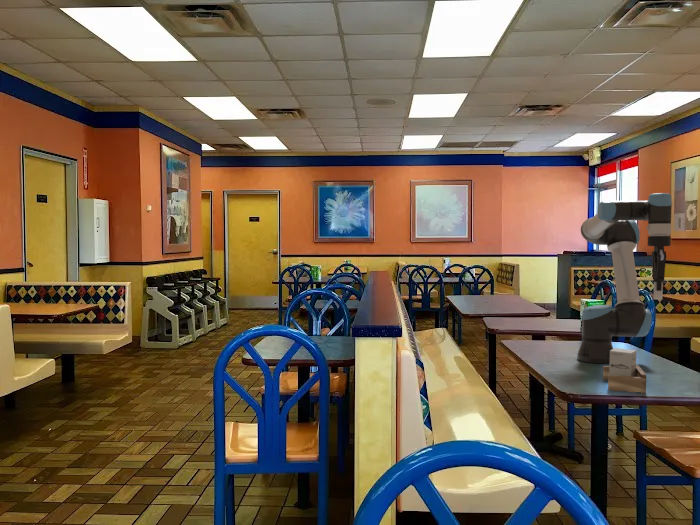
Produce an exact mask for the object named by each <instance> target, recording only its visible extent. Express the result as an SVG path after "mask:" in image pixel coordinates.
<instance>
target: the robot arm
mask: <svg viewBox="0 0 700 525" xmlns="http://www.w3.org/2000/svg"><path fill="white" fill-rule="evenodd" d="M672 205H673V202H672V195H671V193H669V192H666V193H665V192H659V193H658V192H656V193H650V194H649V195H648V199H647V200H605V201H601V202H599V204H598V206H597V213H596V214H594V216H592V217H589V218H587V219H585V220H584V221H583V222H582V223H581V226H580V235H581V237H582V238H583V239H584V240H585V241H587V243H591V244H592V245H596V246H597V245H599V246H601V245H602V246H603V245H604V246H606V247H607V248H606V249H607V250H608V252H610V253H611V258H612V267H613V275H614V282H615V290H616V299H617V300H616V301H617V303H616V304H614V307H613V306H612V305H611V304H596V305H592V306H591V305H590V306H586V307H584V308H583V310H582V313H581V314H582V317H581V320H582V321H581V324H582V325H581V327H582V328H581V343H580V346H579V348H578V352H577V361H581V362H585V363H590V364H591V363H592V364H599V365H600V364H603V365H605V364H609V363H610V350H612V349H614V346H613V342H612V338H613V337H631V338H638V337H646V336H647V335H649V332H650V330H651V326H652V321H653V320H652V312H651V310H650V309H648V308H645V303H643V302H642V301H641V299H640V292H639V286H638V279H637V270H636V263H635V257H634V256H635V255H634V250H635V249H636V247H637V245H638V244H639V243H640V239H641V237H640V235H641V233H640V227H639V225H638V223H637V222H636V221H642V222H643V221H644V222H646V221H647V226H645V228H646V230H647V234H648V235H649V236H647V246H648V247H653V250H652V252H651V262H652V263H651V264H652V282H653V300H659V301H660V300H663V297H664V296H663V288H664V287H663V286H664V281H665V274H666V273H665V272H666V259H667V251H665V247H670V246H671V244H672V238H671V236H670V235H672Z"/></svg>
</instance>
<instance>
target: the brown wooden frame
mask: <svg viewBox="0 0 700 525" xmlns="http://www.w3.org/2000/svg"><path fill="white" fill-rule="evenodd" d="M602 367H603V369H602V373H603V374H602V380H603V381H607V384H608V385H607V390H608V391H609V390H613V391H612V392H621V391H627V392H626V393H635V392H641V393H640V394H647V373H646V372H645V371H644V370H643V369H642V368H641V366H639V364H637V363H636V377H630V376H614V375H609V365H603V366H602Z"/></svg>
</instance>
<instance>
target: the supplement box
mask: <svg viewBox="0 0 700 525" xmlns="http://www.w3.org/2000/svg"><path fill="white" fill-rule="evenodd" d="M637 353H638V352H637V350H635V349H627V348H619V347H613V349H612V350H610V363H608V364H609V365H608V366H609V375H614V376H630V377H636V364H637Z"/></svg>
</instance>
